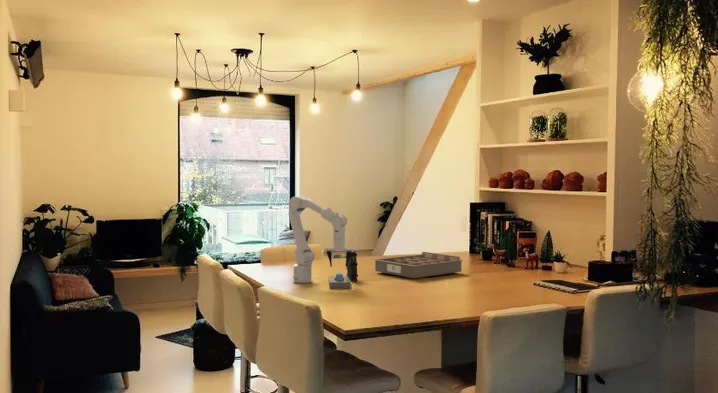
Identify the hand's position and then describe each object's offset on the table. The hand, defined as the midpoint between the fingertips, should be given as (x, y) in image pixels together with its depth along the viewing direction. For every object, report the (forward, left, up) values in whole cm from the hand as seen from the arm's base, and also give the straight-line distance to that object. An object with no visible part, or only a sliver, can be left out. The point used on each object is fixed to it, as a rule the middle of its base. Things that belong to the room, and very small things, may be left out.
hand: (338, 266), depth 304 cm
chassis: (0, -1, -9) cm, 9 cm away
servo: (0, -1, -9) cm, 9 cm away
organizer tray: (+47, +37, -10) cm, 61 cm away
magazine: (+8, +17, -10) cm, 21 cm away
